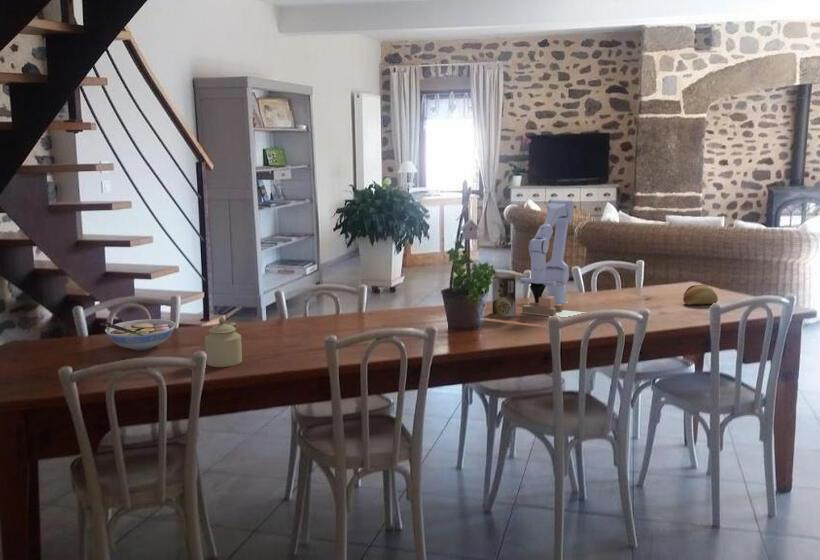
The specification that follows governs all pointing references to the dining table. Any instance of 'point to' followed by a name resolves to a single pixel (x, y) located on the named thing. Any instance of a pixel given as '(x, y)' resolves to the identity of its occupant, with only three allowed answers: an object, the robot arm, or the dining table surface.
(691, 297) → the bread roll
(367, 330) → the dining table surface
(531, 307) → the chute board
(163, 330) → the ramen bowl
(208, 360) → the sugar bowl
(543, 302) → the block
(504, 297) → the coffee box
